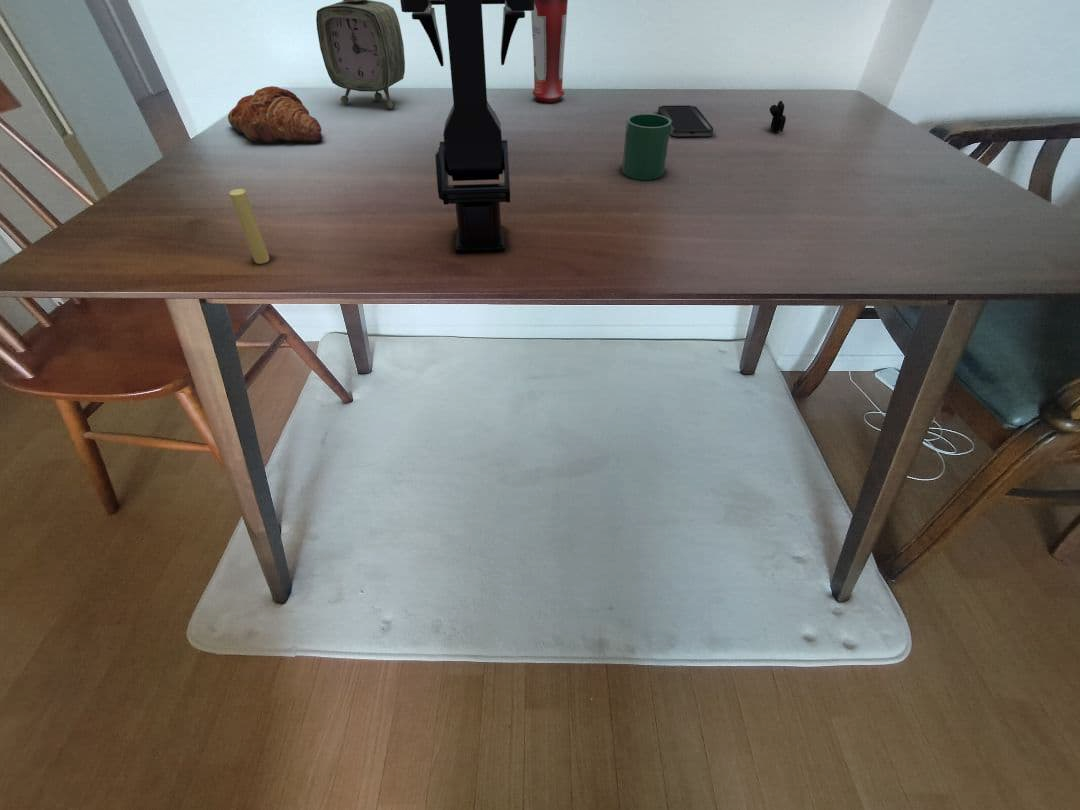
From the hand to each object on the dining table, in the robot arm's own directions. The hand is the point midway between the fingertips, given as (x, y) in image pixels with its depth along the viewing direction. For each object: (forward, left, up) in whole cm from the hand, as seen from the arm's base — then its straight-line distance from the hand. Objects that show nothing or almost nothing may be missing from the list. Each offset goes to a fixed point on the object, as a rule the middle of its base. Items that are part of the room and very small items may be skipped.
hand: (472, 65), depth 88 cm
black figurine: (+12, -56, -15) cm, 59 cm away
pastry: (+17, +38, -15) cm, 44 cm away
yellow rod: (-31, +28, -15) cm, 44 cm away
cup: (-6, -27, -15) cm, 31 cm away
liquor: (+35, -15, -15) cm, 41 cm away
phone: (+17, -40, -15) cm, 46 cm away
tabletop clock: (+35, +22, -15) cm, 44 cm away
